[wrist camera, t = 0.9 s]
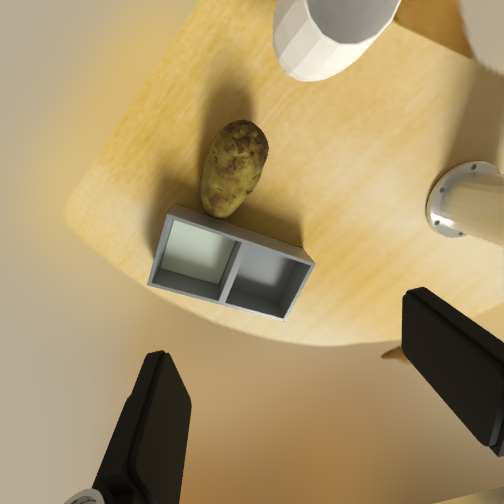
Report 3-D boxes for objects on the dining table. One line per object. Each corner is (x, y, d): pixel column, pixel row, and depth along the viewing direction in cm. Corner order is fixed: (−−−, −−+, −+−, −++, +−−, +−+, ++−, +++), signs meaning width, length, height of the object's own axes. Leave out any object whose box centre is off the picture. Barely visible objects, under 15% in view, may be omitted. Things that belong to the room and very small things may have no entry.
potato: (177, 183, 37) (166, 192, 30) (237, 112, 34) (241, 103, 27) (220, 220, 40) (220, 237, 33) (278, 157, 37) (293, 160, 30)
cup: (309, 100, 35) (414, 43, 16) (258, 112, 35) (301, 70, 16) (301, 35, 32) (419, -131, 13) (246, 48, 32) (281, -99, 13)
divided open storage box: (303, 248, 43) (315, 263, 38) (277, 301, 47) (285, 321, 41) (175, 203, 38) (167, 213, 33) (156, 266, 42) (146, 284, 36)
